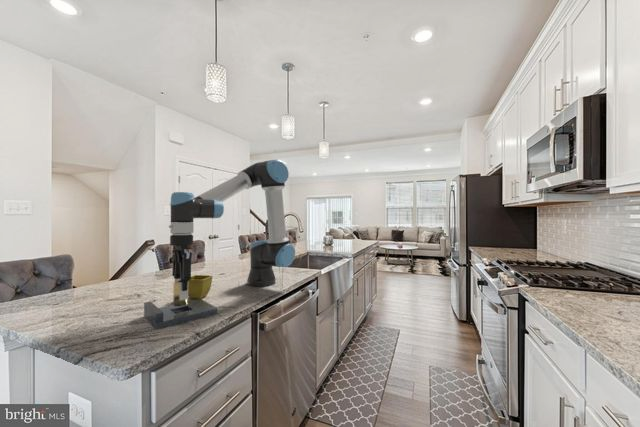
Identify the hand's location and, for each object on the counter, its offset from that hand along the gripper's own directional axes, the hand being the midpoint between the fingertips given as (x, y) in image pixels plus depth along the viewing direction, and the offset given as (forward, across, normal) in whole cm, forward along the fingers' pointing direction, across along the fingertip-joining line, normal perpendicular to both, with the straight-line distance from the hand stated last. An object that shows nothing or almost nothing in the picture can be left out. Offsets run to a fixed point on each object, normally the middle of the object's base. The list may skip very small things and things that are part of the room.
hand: (181, 297), depth 97 cm
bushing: (+2, 0, 0) cm, 2 cm away
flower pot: (+7, -18, +13) cm, 23 cm away
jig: (+6, 0, 0) cm, 6 cm away
